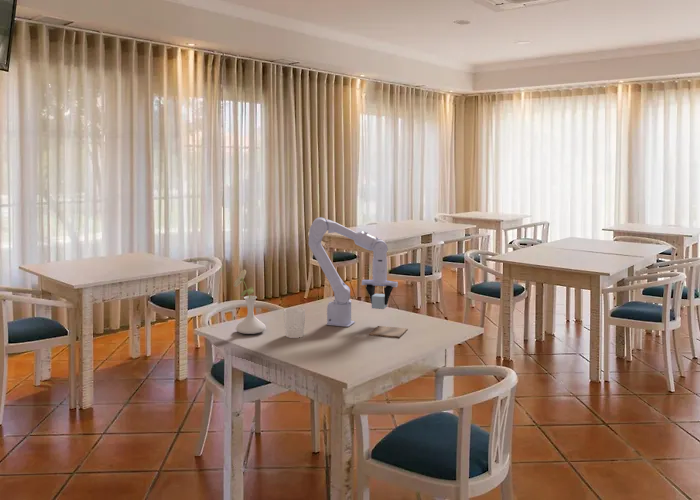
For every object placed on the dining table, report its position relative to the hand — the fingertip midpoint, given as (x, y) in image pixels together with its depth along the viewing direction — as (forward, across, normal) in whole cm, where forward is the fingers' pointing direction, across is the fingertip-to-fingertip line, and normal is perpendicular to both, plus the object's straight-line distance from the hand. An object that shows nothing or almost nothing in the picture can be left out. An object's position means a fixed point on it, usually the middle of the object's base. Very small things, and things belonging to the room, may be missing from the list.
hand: (379, 303), depth 253 cm
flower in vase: (+9, -43, -29) cm, 53 cm away
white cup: (+9, -25, -27) cm, 38 cm away
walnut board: (+8, +7, -11) cm, 15 cm away
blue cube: (+2, 0, 0) cm, 2 cm away
